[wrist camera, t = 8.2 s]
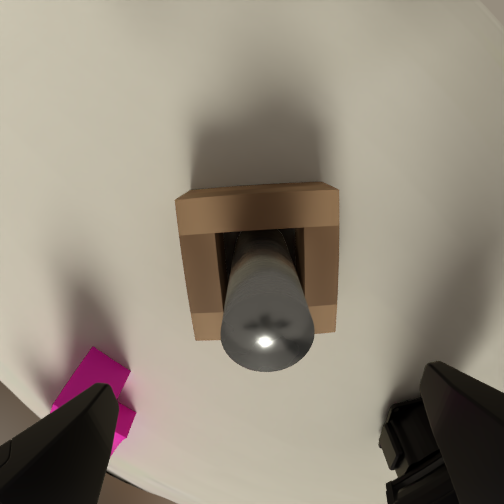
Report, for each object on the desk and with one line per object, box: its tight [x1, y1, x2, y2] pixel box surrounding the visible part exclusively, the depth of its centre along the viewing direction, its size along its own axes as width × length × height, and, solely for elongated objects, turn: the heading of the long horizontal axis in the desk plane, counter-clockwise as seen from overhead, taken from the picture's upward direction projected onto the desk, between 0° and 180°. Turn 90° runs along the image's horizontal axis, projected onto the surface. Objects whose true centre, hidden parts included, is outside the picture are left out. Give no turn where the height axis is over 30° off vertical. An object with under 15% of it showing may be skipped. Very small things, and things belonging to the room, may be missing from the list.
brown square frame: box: [175, 182, 339, 341], centre depth 18 cm, size 8×8×4 cm
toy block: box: [50, 347, 136, 457], centre depth 22 cm, size 15×6×8 cm, turn 144°
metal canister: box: [220, 229, 315, 372], centre depth 15 cm, size 3×3×10 cm
